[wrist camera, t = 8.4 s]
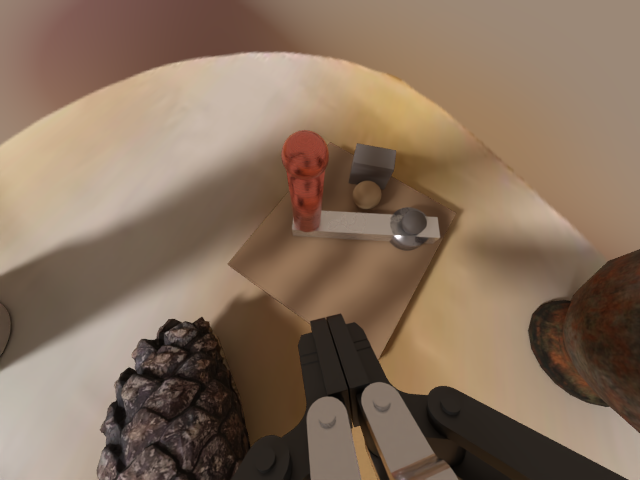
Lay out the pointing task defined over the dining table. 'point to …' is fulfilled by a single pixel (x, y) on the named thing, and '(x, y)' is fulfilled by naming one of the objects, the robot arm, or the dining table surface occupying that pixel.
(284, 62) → the dining table surface
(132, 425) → the pine cone
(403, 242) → the lever
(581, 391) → the pitcher
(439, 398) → the robot arm
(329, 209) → the base
